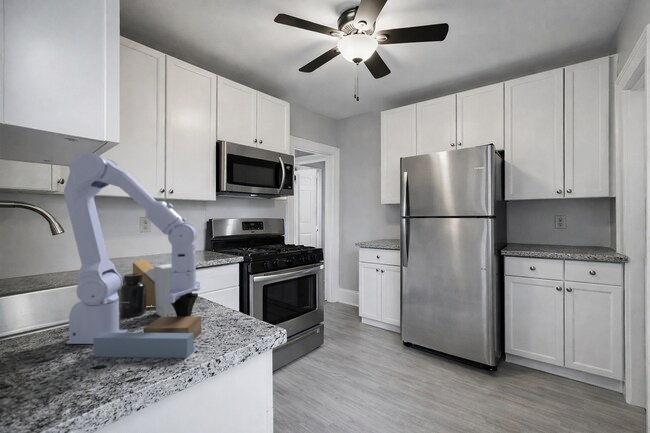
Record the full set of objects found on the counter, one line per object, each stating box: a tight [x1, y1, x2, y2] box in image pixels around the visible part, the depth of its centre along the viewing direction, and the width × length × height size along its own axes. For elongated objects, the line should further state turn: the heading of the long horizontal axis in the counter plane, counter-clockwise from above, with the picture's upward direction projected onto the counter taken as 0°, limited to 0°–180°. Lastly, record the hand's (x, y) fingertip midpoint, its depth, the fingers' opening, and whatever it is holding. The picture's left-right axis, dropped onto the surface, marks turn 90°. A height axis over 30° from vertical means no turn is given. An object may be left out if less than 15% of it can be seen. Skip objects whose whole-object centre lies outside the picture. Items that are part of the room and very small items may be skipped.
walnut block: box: [142, 315, 202, 341], centre depth 74 cm, size 10×8×4 cm
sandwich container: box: [132, 258, 156, 306], centre depth 105 cm, size 9×15×15 cm, turn 96°
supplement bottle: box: [119, 272, 147, 318], centre depth 94 cm, size 7×7×12 cm
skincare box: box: [153, 263, 177, 317], centre depth 93 cm, size 8×6×15 cm
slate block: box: [92, 332, 195, 359], centre depth 66 cm, size 20×3×4 cm, turn 88°
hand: (184, 323), depth 80 cm, fingers closed
